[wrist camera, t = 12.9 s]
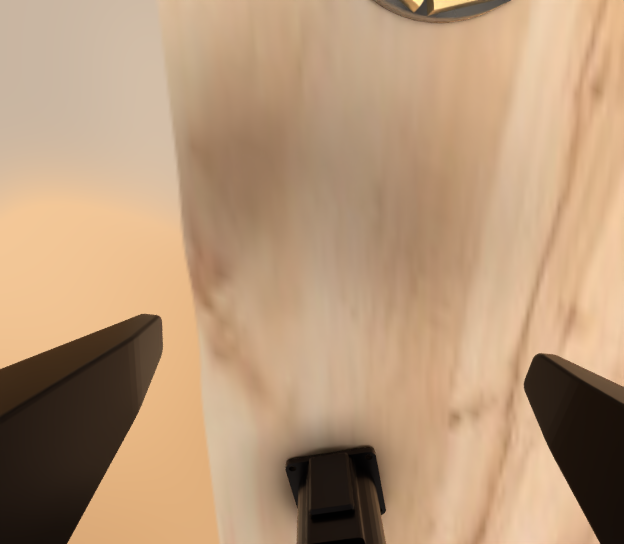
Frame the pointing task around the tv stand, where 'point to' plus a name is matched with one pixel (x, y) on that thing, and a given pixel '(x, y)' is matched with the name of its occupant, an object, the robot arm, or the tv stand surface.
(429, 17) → the carrier plate
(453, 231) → the tv stand surface
